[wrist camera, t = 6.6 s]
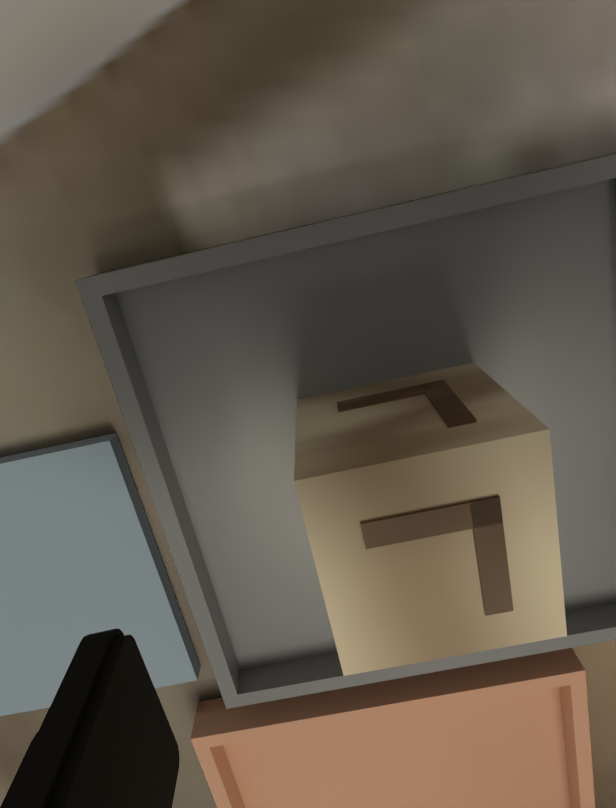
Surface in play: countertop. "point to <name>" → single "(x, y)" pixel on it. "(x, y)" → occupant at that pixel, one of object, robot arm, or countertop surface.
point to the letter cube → (429, 518)
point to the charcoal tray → (357, 366)
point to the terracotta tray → (410, 742)
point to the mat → (79, 571)
